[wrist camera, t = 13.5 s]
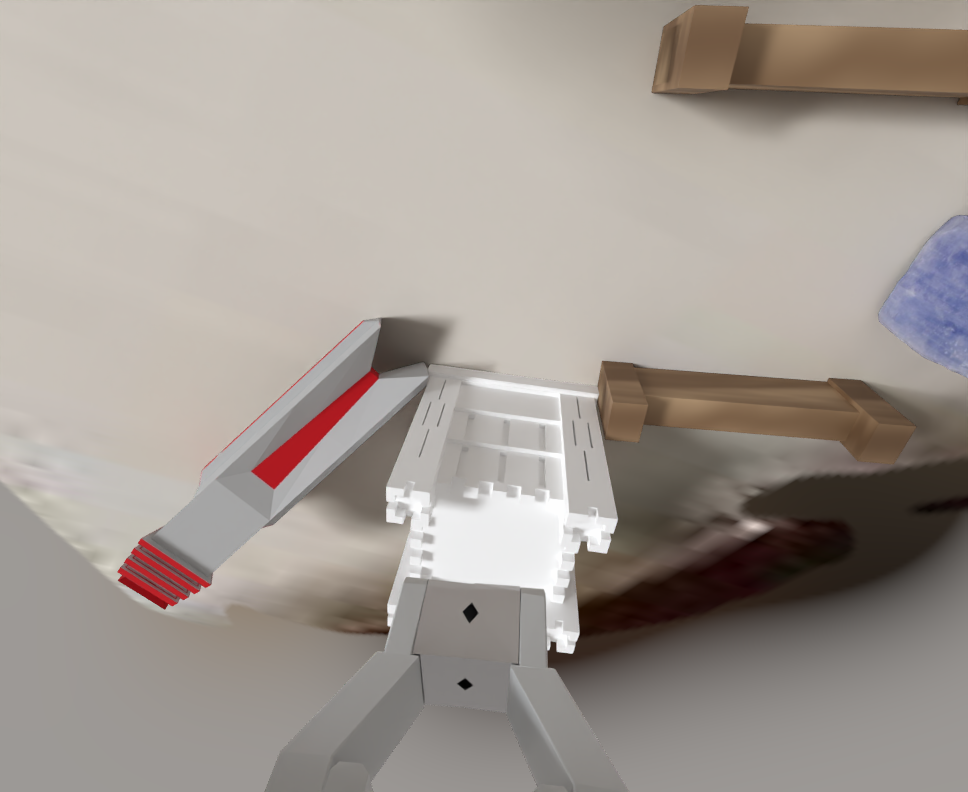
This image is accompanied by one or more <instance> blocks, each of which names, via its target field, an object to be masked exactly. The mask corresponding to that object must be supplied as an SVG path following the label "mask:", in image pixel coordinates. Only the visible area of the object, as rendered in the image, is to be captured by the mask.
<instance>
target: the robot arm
mask: <svg viewBox="0 0 968 792" xmlns="http://www.w3.org/2000/svg"><path fill="white" fill-rule="evenodd" d="M424 704H426V705H438V706H452V707H465V708H473V709H480V710H487V711H495V712H503V713H506V716H507V718H508V721H509V723H510V725H511V727H512V730H513V732H514V734H515V737H516V739H517V741H518V744H519V746H520V748H521V751H522V753H523V755H524V758H525V760H526V762H527V764H528V767H529V769H530V771H531V773H532V776H533V778H534V781H535V783H536V785H537V787H536V788H535V790H534V791H533V792H629V790H628V789H627V787H626V785H625V784H624V782H623V780H622V779H621V777H620V775H619V774H618V772H617V770H616V769H615V767H614V765H613V764H612V762H611V760H610V759H609V757H608V756H607V754H606V752H605V751H604V749H603V747H602V746H601V744H600V742H599V741H598V739H597V737H596V736H595V734H594V732H593V731H592V729H591V727H590V726H589V724H588V723H587V721H586V719H585V718H584V716H583V714H582V713H581V711H580V709H579V708H578V706H577V704H576V703H575V701H574V699H573V698H572V696H571V695H570V693H569V692H568V690H567V688H566V686H565V685H564V683H563V681H562V680H561V678H560V676H559V675H558V673H557V671H556V670H555V669H551V668H548V663H547V625H546V594H545V591H544V589H540V588H524V587H521V588H520V586H509V585H495V584H481V583H475V584H472V583H462V582H453V581H443V580H433V579H426V578H414V577H406V578H405V580H404V582H403V584H402V587H401V590H400V594H399V598H398V602H397V605H396V609H395V613H394V616H393V620H392V624H391V627H390V631H389V635H388V639H387V642H386V646H385V650H384V652H376V653H375V654H374V655H373V656H372V657H371V658H370V659H369V660H368V661H367V662H366V663H365V664H364V665H363V666H362V667H361V668H360V669H359V670H358V672H357V673H356V674H355V675H354V676H353V677H352V678H351V679H350V680H349V681H348V682H347V683H346V684H345V685H344V686H343V687H342V688H341V689H340V690H339V691H338V692H337V693H336V694H335V695H334V696H333V697H332V698H331V699H330V700H329V701H328V702H327V704H326V705H325V706H324V707H323V708H322V709H321V710H320V711H319V712H318V713H317V714H316V715H315V716H314V717H313V718H312V719H311V720H310V721H309V722H308V723H307V724H306V725H305V726H304V727H303V728H302V729H301V731H299V733H298V734H297V735H296V736H295V737H294V738H293V739H292V740H291V741H290V742H289V743H288V744H287V745H286V746H285V747H284V748H283V749H282V750H281V751H280V753H279V756H278V758H277V761H276V763H275V766H274V769H273V771H272V774H271V776H270V779H269V781H268V784H267V787H266V789H265V792H373V789H372V785H371V781H372V780H373V778H374V777H375V775H376V774H377V773H378V771H379V770H380V769H381V767H382V765H383V764H384V763H385V762H386V760H387V759H388V757H389V756H390V754H391V753H392V752H393V750H394V749H395V748H396V746H397V745H398V743H399V742H400V740H401V739H402V738H403V736H404V735H405V734H406V732H407V731H408V729H409V728H410V726H411V725H412V724H413V722H414V721H415V720H416V718H417V717H418V715H419V714H420V712H421V711H422V710H423V708H424Z"/></svg>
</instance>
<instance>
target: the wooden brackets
mask: <svg viewBox="0 0 968 792" xmlns="http://www.w3.org/2000/svg"><path fill="white" fill-rule="evenodd" d="M748 8H749V7H743V6H707V5H695V6H693V7H692V8H690V9H689V10H687V11H686V12H684V13H683V14H682V15H680V16H679V17H677V18H676V19H674V20H673V21H671V22H670V23H668V24H667V25H665V26H664V27H663V33H662V38H661V44H660V49H659V55H658V60H657V65H656V71H655V76H654V82H653V87H652V93H674V94H698V93H706V92H714V91H722V90H728V89H750V90H776V91H802V92H828V93H854V94H880V95H906V96H932V97H958V98H960V99H959V101H958V103H957V105H968V30H949V29H915V28H882V27H848V26H815V25H781V24H748V23H745V20H746V16H747V12H748ZM598 391H599V397H598V401H597V403H598V407H599V412H600V417H601V422H602V427H603V431H604V436H605V440H615V441H627V442H639V439H640V435H641V431H642V427H643V425H655V426H667V427H679V428H691V429H703V430H715V431H727V432H739V433H752V434H764V435H776V436H788V437H800V438H812V439H824V440H836V441H840V442H841V443H842V444H843V446H844V447H845V448H846V449H847V450H848V451H849V452H850V453H851V454H852V455H853V456H854V457H855V459H856V460H857V461H861V462H873V463H884V464H894V463H895V461H896V460H897V458H898V457H899V455H900V453H901V452H902V450H903V448H904V447H905V445H906V443H907V442H908V440H909V439H910V437H911V435H912V434H913V432H914V430H915V429H916V427H917V426H915V425H914V424H913V423H912V422H911V421H909V420H908V419H907V418H906V417H904V416H903V415H902V414H901V413H900V412H898V411H897V410H896V409H895V408H894V407H892V406H891V405H890V404H889V403H888V402H886V401H885V400H884V399H883V398H881V397H880V396H879V395H878V394H877V393H875V392H874V391H873V390H872V389H871V388H869V387H868V386H867V385H866V384H865V383H863V382H862V381H861V380H848V379H835V378H829V379H828V381H827V382H821V381H808V380H795V379H782V378H768V377H755V376H742V375H729V374H716V373H702V372H689V371H676V370H663V369H650V368H636V367H634V366H633V364H632V363H622V362H609V361H602V365H601V370H600V376H599V381H598Z"/></svg>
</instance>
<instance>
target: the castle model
mask: <svg viewBox="0 0 968 792" xmlns="http://www.w3.org/2000/svg"><path fill="white" fill-rule="evenodd" d="M428 371H429V376H428V379H427V383H426V389H425V392H424V394H423V397H422V399H421V402H420V404H419V406H418V409H417V411H416V414H415V416H414V419H413V421H412V424H411V426H410V429H409V431H408V434H407V436H406V439H405V441H404V444H403V446H402V448H401V451H400V453H399V456H398V458H397V461H396V463H395V466H394V468H393V471H392V473H391V476H390V478H389V481H388V483H387V486H386V501H388V505H387V508H386V522H391V523H398V524H403V523H404V520H405V517H406V516H411V517H412V518H411V529H410V532H409V535H408V539H407V542H406V545H405V549H404V552H403V555H402V558H401V562H400V565H399V568H398V571H397V575H396V578H395V581H394V585H393V588H392V591H391V594H390V598H389V601H388V613H389V615H388V626H391V624H392V620H393V616H394V613H395V609H396V605H397V602H398V598H399V594H400V590H401V587H402V584H403V582H404V580H405V578H406V577H414V578H426V579H433V580H443V581H453V582H462V583H472V584H475V583H481V584H495V585H509V586H520V588H521V587H524V588H540V589H544V591H545V594H546V625H547V650H549V649H550V641H553V642H557V651H558V652H564V653H571V654H572V653H573V651H574V647H575V641H577V639H578V636H579V620H578V608H577V596H576V583H575V571H574V563H575V558H574V553H578V550H579V547H580V543H581V542H580V541H585V542H587V547H588V551H593V552H600V553H607V551H608V548H609V545H610V542H611V537H610V533H614V530H615V527H616V524H617V521H618V516H617V511H616V506H615V501H614V496H613V491H612V486H611V481H610V476H609V471H608V466H607V461H606V456H605V451H604V446H603V441H602V436H601V431H600V426H599V421H598V415H597V410H596V405H597V401H598V397H599V391H598V386H593V385H586V384H578V383H571V382H563V381H556V380H548V379H541V378H533V377H525V376H518V375H510V374H503V373H495V372H488V371H480V370H473V369H465V368H457V367H450V366H442V365H435V364H430V365H429V368H428Z"/></svg>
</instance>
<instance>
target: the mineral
mask: <svg viewBox="0 0 968 792" xmlns="http://www.w3.org/2000/svg"><path fill="white" fill-rule="evenodd" d="M878 317H879V322H880V323H881V324H883V325H884V326H885V327H886V328H887V329H888V330H889V331H890V332H892V333H893V334H894V335H895V336H896V337H898V338H899V339H900V340H901V341H903V342H904V343H906V344H907V345H908V346H909V347H910V348H911V349H913V350H914V351H916V352H917V353H918V354H920V355H921V356H923V357H924V358H926V359H928V360H931V361H933V362H935V363H938V364H940V365H942V366H945V367H946V368H947V369H949V370H951V371H954V372H956V373H958V374H961V375H963V376H965V377H967V378H968V215H958V216H955V217H952V218H951V219H950V220H948V221H947V222H946V223H945V224H944V225H942V226H941V227H940V228H939V229H938V230H937V232H936V233H935V234H934V235H933V236H932V237H931V238H930V239H929V240H928V241H927V242H926V243H925V245H924V246H923V248H922V249H921V251H920V252H919V254H918V255H917V257H916V258H915V259H914V261H913V262H912V264H911V265H910V267H909V270H908V271H907V272H906V273H905V275H904V276H903V277H902V278H901V279H900V280H899V281H898V283H897V284H896V286H895V288H894V290H893V291H892V293H891V294H890V296H889V297H888V299H887V300H886V301H885V302H884V305H883V306H882V308H881V309H880V311H879V314H878Z"/></svg>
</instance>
